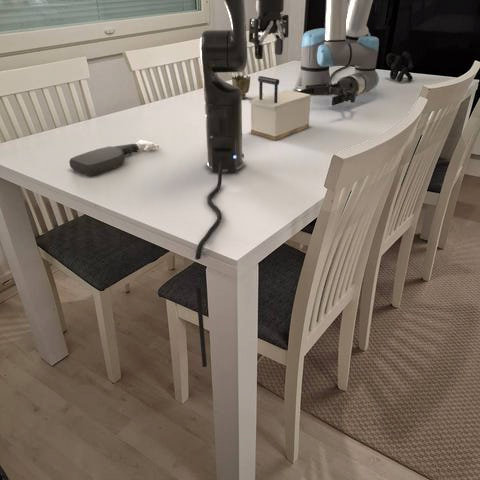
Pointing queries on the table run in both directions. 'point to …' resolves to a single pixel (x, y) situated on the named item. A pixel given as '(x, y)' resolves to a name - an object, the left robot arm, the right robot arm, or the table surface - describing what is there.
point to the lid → (277, 95)
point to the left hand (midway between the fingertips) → (268, 56)
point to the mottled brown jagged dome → (242, 84)
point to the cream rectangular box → (280, 119)
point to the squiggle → (399, 66)
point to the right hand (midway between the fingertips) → (315, 98)
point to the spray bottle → (106, 157)
